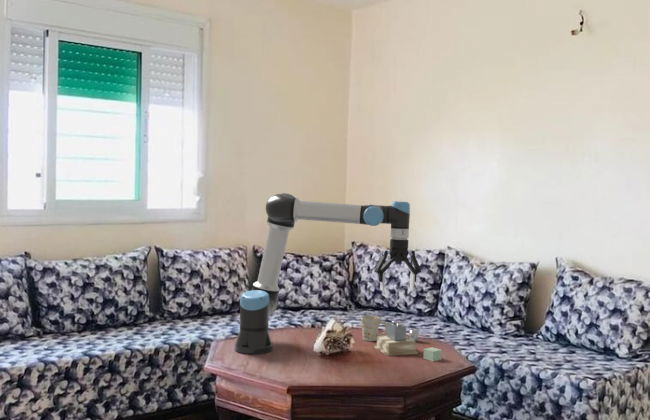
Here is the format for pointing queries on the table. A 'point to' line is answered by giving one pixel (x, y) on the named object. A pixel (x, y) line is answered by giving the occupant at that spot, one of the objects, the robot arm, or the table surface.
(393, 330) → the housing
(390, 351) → the plinth
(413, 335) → the grey bushing
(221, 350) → the table surface
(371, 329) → the mug
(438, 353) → the sage block
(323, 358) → the table surface
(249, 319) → the robot arm
